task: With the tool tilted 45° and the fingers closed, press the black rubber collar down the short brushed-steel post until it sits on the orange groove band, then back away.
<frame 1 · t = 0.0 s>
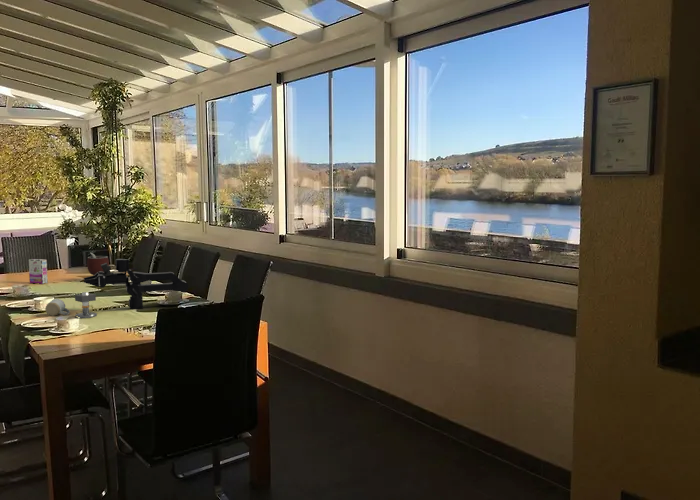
hand: (84, 280, 311), 17 cm above the table, tool horizontal, fingers open, 9 cm apart
pipe stand: (86, 316, 301), on the table
ceramic mug: (58, 315, 305), on the table
candy bar box: (38, 283, 406), on the table
mate gourd: (98, 281, 416), on the table
ring: (85, 297, 300), point 10 cm above the table, slide at 0.0 cm
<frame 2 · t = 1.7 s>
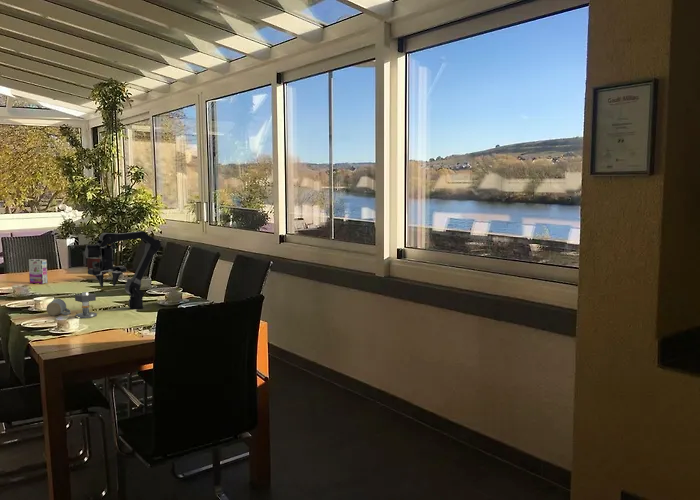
hand: (108, 286, 313), 13 cm above the table, tool pointing down, fingers open, 6 cm apart
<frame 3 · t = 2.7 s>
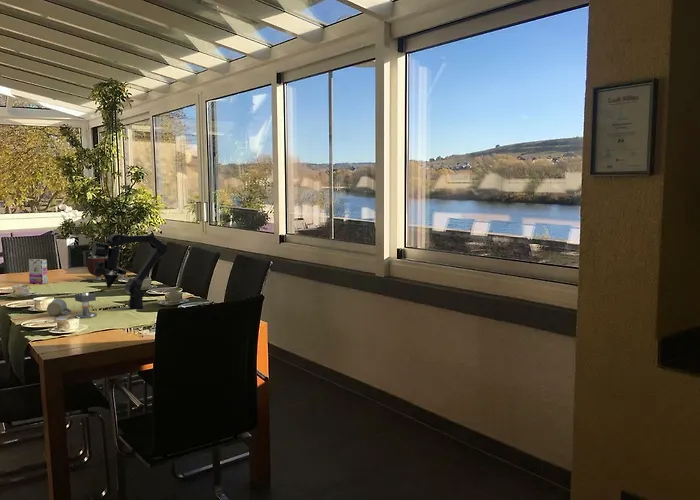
hand: (108, 287, 312), 13 cm above the table, tool pointing down, fingers closed
nothing on the table moved.
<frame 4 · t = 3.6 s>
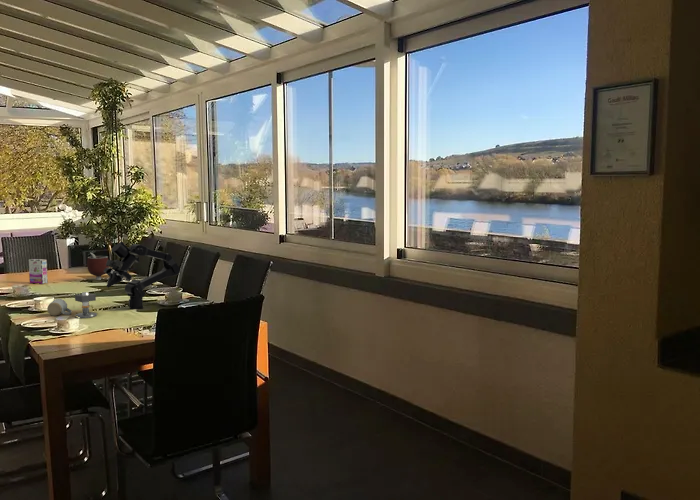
hand: (107, 286, 309), 13 cm above the table, tool tilted 45°, fingers closed
nothing on the table moved.
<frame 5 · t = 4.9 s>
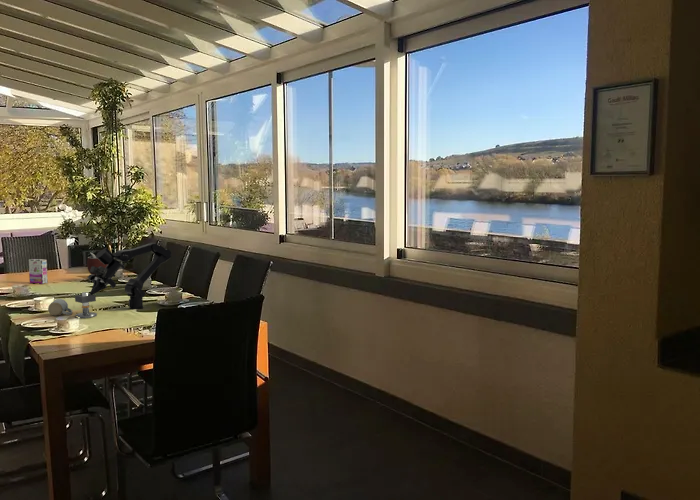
hand: (91, 294, 302), 11 cm above the table, tool tilted 45°, fingers closed, pressing on ring
ring: (85, 298, 300), point 9 cm above the table, slide at 0.4 cm, touching gripper
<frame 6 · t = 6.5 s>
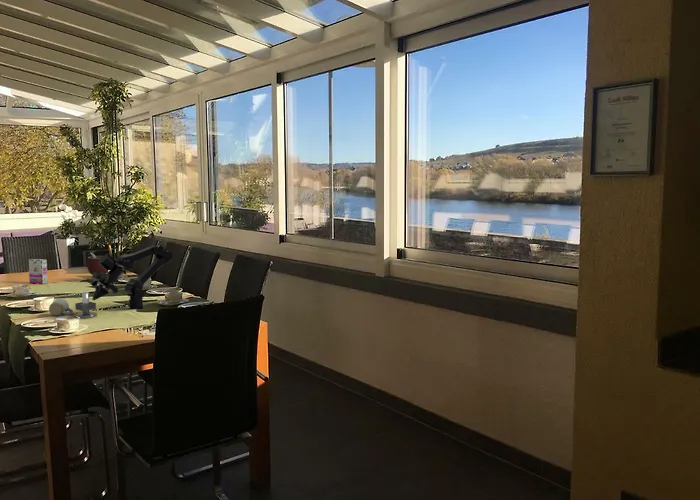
hand: (93, 299, 304), 8 cm above the table, tool tilted 45°, fingers closed
ring: (85, 306, 301), point 5 cm above the table, slide at 4.3 cm
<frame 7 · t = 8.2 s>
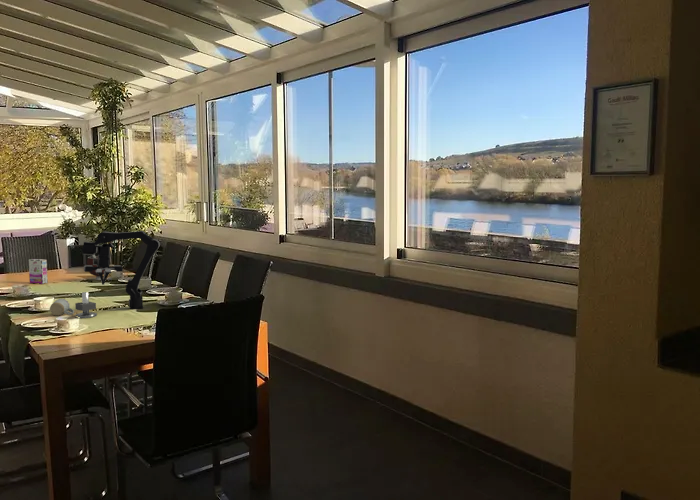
hand: (103, 284, 318), 13 cm above the table, tool pointing down, fingers closed
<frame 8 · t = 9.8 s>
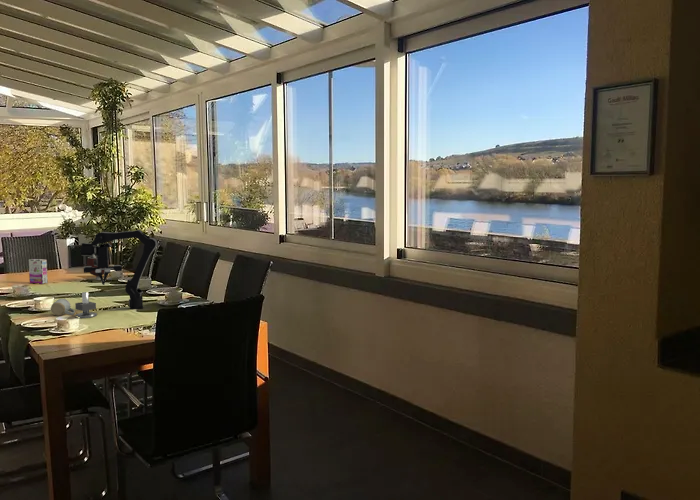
hand: (103, 284, 319), 13 cm above the table, tool pointing down, fingers closed
at the end: ring slide at 4.3 cm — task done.
